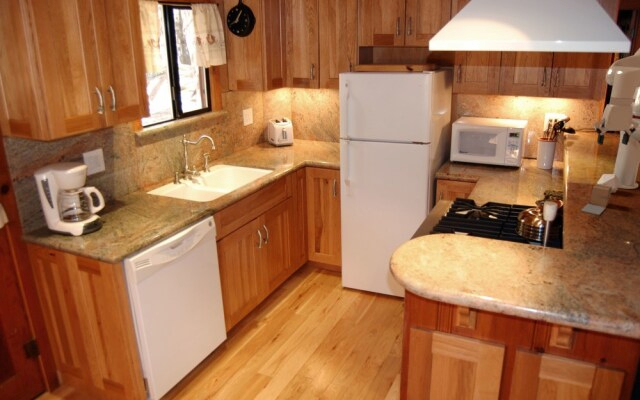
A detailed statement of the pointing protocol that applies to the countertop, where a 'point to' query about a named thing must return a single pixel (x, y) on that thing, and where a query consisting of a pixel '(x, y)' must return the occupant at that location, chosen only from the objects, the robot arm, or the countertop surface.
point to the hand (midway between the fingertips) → (612, 144)
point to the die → (610, 181)
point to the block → (600, 195)
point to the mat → (593, 209)
